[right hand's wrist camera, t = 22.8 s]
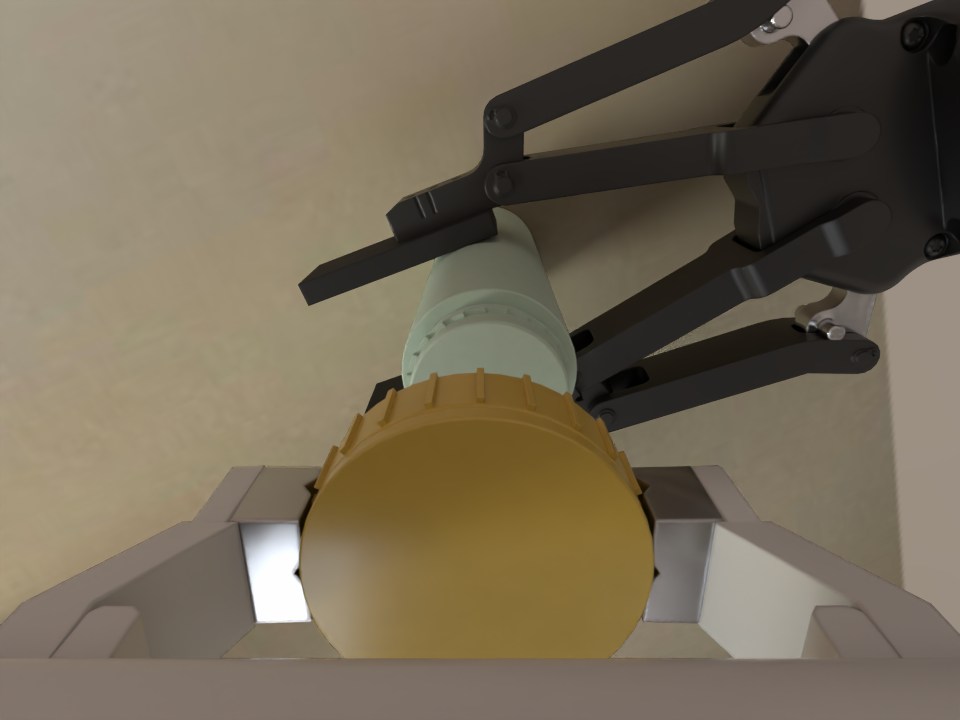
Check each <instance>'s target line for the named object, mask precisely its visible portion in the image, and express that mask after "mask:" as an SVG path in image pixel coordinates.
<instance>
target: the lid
mask: <svg viewBox="0 0 960 720" xmlns="http://www.w3.org/2000/svg"><path fill="white" fill-rule="evenodd" d="M314 488H316V489H318V490H319V491H318V493H317V494H316V495H314V497H313V499H312V507H311V509H310V511H309V513H308V516H307V518H306V521H305V525H304V528H303V532H302V535H301V541H300V549H299V575H300V580H301V585H302V590H303V595H304V598H305V600H306V603H307V606H308V608H309V611H310V613H311V615H312V617H313V619H314V621H315V622H316V624H317V626H318V628H319V630H320V631H321V632H322V634H323V635H324V636H325V638H326V639H327V640H328V642H329V643H330V644H331V645H332V646H333V647H334V649H335V650H336V651H337V652H338V653H339V654H340V655H341V656H342V657H343V658H610V657H611V656H612V655H613V654H614V653H615V652H616V651H617V650H618V649H619V648H620V647H621V646H622V645H623V644H624V642H625V641H626V640H627V638H628V637H629V636H630V634H631V633H632V632H633V630H634V629H635V627H636V625H637V623H638V622H639V620H640V618H641V616H642V614H643V612H644V609H645V607H646V604H647V601H648V599H649V596H650V591H651V587H652V582H653V577H654V560H655V556H654V547H653V539H652V535H651V531H650V528H649V524H648V521H647V518H646V515H645V513H644V511H643V508H642V503H641V502H640V501H639V499H638V497H637V495H639V494H642V491H641V489H640V487H639V484H638V482H637V480H636V477H635V475H634V473H633V471H632V468H631V466H630V464H629V462H628V459H627V457H626V455H625V453H624V451H621V452H619V453H618V451H617V449H616V447H615V445H614V444H613V442H612V439H611V437H610V435H609V432H608V430H607V428H606V425H605V423H604V421H603V420H602V419H601V418H599V419H598V420H595V419H594V418H593V417H592V416H591V415H589V414H588V413H587V412H586V411H585V410H583V409H582V408H581V407H580V406H579V405H578V404H576V403H574V400H573V397H572V395H571V394H570V393H568V392H567V391H566V392H565V393H564V394H563V395H562V394H560V393H558V392H556V391H554V390H552V389H550V388H547V387H545V386H543V385H541V384H538V383H535V382H531V377H530V375H526V374H523V377H522V378H518V377H512V376H507V375H502V374H491V373H484V368H477V373H463V374H452V375H447V376H441V377H438V374H437V372H435V373H431V374H430V378H429V380H425V381H422V382H419V383H416V384H413V385H411V386H409V387H406V388H404V389H402V390H400V391H398V392H396V390H395V389H394V388H392V389H390V390H389V391H388V392H387V395H386V398H385V399H384V400H382V401H381V402H379V403H378V404H376V405H375V406H374V407H373V408H372V409H370V410H369V411H368V412H367V413H366V414H364V415H363V416H361V415H360V414H359V413H358V414H357V415H356V416H355V417H354V418H353V421H352V423H351V425H350V428H349V430H348V432H347V435H346V436H345V438H344V439H343V441H342V442H341V444H340V445H339V447H336V446H334V445H333V447H332V449H331V451H330V453H329V455H328V457H327V459H326V461H325V464H324V466H323V468H322V470H321V472H320V474H319V477H318V479H317V481H316V483H315V485H314Z"/></svg>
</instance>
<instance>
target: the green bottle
mask: <svg viewBox="0 0 960 720" xmlns="http://www.w3.org/2000/svg"><path fill="white" fill-rule="evenodd" d="M493 212H494V215H495V218H496V220H497V230H498V235H496V236H493V237H490V238H488V239H485V240H482V241H480V242H477V243H475V244H472V245H469V246H466V247H464V248H461V249H459V250H456V251H453V252H451V253H448V254H445V255H443V256H440V257H437V258H435V261H434V264H433V267H432V270H431V273H430V275H429V278H428V281H427V284H426V287H425V290H424V293H423V296H422V299H421V301H420V304H419V307H418V310H417V313H416V316H415V319H414V322H413V325H412V328H411V330H410V333H409V336H408V339H407V342H406V345H405V349H404V353H403V358H402V380H403V386H404V388H406V387H409V386H411V385H413V384H416V383H419V382H422V381H425V380H429V378H430V374H431V373H435V372H437V374H438V377H441V376H447V375H452V374H463V373H477V368H484V373H491V374H502V375H507V376H512V377H518V378H522V377H523V374H526V375H530V377H531V382H535V383H538V384H541V385H543V386H545V387H547V388H550V389H552V390H554V391H556V392H558V393H560V394H562V395H563V394H564V393H565V392H566V391H567V392H568V393H570V394H571V395H572V394H573V391H574V387H575V383H576V376H577V361H576V355H575V350H574V346H573V344H572V341H571V338H570V335H569V333H568V330H567V328H566V325H565V322H564V320H563V317H562V314H561V312H560V309H559V306H558V304H557V301H556V298H555V296H554V293H553V290H552V288H551V285H550V282H549V280H548V277H547V275H546V272H545V269H544V267H543V264H542V261H541V259H540V256H539V253H538V251H537V248H536V245H535V243H534V240H533V237H532V235H531V233H530V231H529V229H528V227H527V226H526V225H525V223H524V222H523V221H522V220H521V219H520V218H519V217H518V216H516V215H515V214H513V213H512V212H510V211H508V210H506V209H503V208H500V207H496V208H493Z"/></svg>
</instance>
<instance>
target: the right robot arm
mask: <svg viewBox="0 0 960 720" xmlns="http://www.w3.org/2000/svg"><path fill="white" fill-rule="evenodd" d="M322 468H323V467H295V466H267V467H266V466H264V465H262V466H236V467H232V468H231V469H230V471H229V472H228V473H227V475H226V476H225V477H224V479H223V480H222V482H221V483H220V484H219V486H218V487H217V488H216V490H215V491H214V492H213V494H212V495H211V497H210V498H209V499H208V501H207V502H206V503H205V505H204V506H203V507H202V509H201V510H200V511H199V513H198V514H197V516H196V517H195V518H194V520H193V521H192V522H181V523H179V524H177V525H175V526H173V527H171V528H169V529H167V530H165V531H163V532H161V533H159V534H157V535H155V536H153V537H151V538H149V539H147V540H145V541H143V542H141V543H139V544H137V545H135V546H133V547H131V548H129V549H127V550H125V551H124V552H122V553H120V554H118V555H116V556H114V557H112V558H110V559H108V560H106V561H104V562H102V563H100V564H98V565H96V566H94V567H92V568H90V569H88V570H86V571H84V572H82V573H80V574H78V575H76V576H74V577H72V578H70V579H68V580H66V581H64V582H62V583H60V584H58V585H56V586H54V587H52V588H50V589H48V590H47V591H45V592H43V593H41V594H39V595H37V596H35V597H33V598H31V599H29V600H27V601H25V602H23V603H22V604H21V605H20V606H19V607H18V608H17V609H16V610H15V611H14V612H13V613H12V614H11V615H10V616H9V617H8V618H7V619H6V620H5V621H4V622H3V623H2V624H1V625H0V720H960V634H959V633H958V632H957V631H956V630H955V629H954V628H953V626H952V625H951V624H950V623H949V622H948V621H947V620H946V619H945V618H944V617H943V616H942V615H941V614H940V613H939V612H938V611H937V609H936V608H935V607H934V606H933V605H932V604H931V603H929V602H927V601H925V600H923V599H921V598H919V597H917V596H915V595H913V594H911V593H909V592H907V591H905V590H903V589H901V588H899V587H897V586H896V585H894V584H892V583H890V582H888V581H886V580H884V579H882V578H880V577H878V576H876V575H874V574H872V573H870V572H868V571H866V570H864V569H862V568H860V567H859V566H857V565H855V564H853V563H851V562H849V561H847V560H845V559H843V558H841V557H839V556H837V555H835V554H833V553H831V552H829V551H827V550H825V549H823V548H821V547H820V546H818V545H816V544H814V543H812V542H810V541H808V540H806V539H804V538H802V537H800V536H798V535H796V534H794V533H792V532H790V531H788V530H786V529H784V528H783V527H781V526H779V525H777V524H775V523H773V522H761V520H760V519H759V517H758V516H757V515H756V513H755V512H754V511H753V509H752V508H751V506H750V505H749V504H748V502H747V501H746V500H745V498H744V497H743V495H742V494H741V493H740V491H739V490H738V489H737V487H736V486H735V484H734V483H733V482H732V480H731V479H730V477H729V476H728V475H727V473H726V472H725V471H724V469H723V468H722V467H720V466H718V465H711V466H678V467H637V468H632V471H633V473H634V475H635V477H636V480H637V482H638V484H639V487H640V489H641V491H642V494H639V495H637V497H638V499H639V501H640V502H641V503H642V508H643V511H644V513H645V515H646V518H647V521H648V524H649V528H650V531H651V535H652V539H653V547H654V556H655V560H654V577H653V582H652V587H651V591H650V596H649V599H648V601H647V604H646V607H645V609H644V612H643V614H642V616H641V617H642V620H643V622H669V623H699V626H700V627H701V628H702V629H703V630H704V631H705V632H706V633H707V634H708V635H709V636H711V637H712V638H713V639H714V640H715V641H716V642H717V643H718V644H719V645H720V646H721V647H723V648H724V649H725V650H726V651H727V652H728V653H729V654H730V655H731V656H732V657H733V658H220V657H222V656H223V655H224V654H225V653H226V652H227V651H228V650H229V649H230V648H232V647H233V646H234V645H235V644H236V643H237V642H238V641H239V640H240V639H241V638H243V637H244V636H245V635H246V634H247V633H248V632H249V631H250V630H251V629H252V628H254V627H255V624H254V623H284V622H311V620H312V618H313V617H312V615H311V613H310V611H309V608H308V606H307V603H306V600H305V598H304V595H303V590H302V585H301V580H300V575H299V549H300V541H301V535H302V532H303V528H304V525H305V521H306V518H307V516H308V513H309V511H310V509H311V507H312V499H313V497H314V495H316V494H317V493H318V491H319V490H318V489H316V488H314V485H315V483H316V481H317V479H318V477H319V474H320V472H321V470H322Z"/></svg>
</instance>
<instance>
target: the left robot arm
mask: <svg viewBox="0 0 960 720" xmlns="http://www.w3.org/2000/svg"><path fill="white" fill-rule="evenodd" d="M739 39H741V41H742V42H743V43H744V44H746V45H748V46H749V47H760V46H764V45H768V44H772V43H775V42H777V41H779V40H786V41H788V42H790V43H791V44H792V45H793V47H794V48H793V49H792V50H791V52H790V53H789V54H788V55H787V57H786V58H785V59H784V61H783V62H782V63H781V65H780V66H779V67H778V69H777V70H776V71H775V73H774V74H773V75H772V76H771V78H770V79H769V80H768V82H767V83H766V84H765V86H764V87H763V88H762V90H761V91H760V92H759V94H758V95H757V96H756V98H755V99H754V100H753V101H752V103H751V104H750V105H749V107H748V108H747V109H746V111H745V112H744V113H743V115H742V116H741V117H740V118H739V120H738V121H737V122H730V123H724V124H717V125H711V126H704V127H698V128H692V129H688V130H685V131H679V132H672V133H666V134H659V135H653V136H646V137H640V138H633V139H627V140H620V141H614V142H607V143H600V144H594V145H587V146H581V147H574V148H568V149H561V150H555V151H548V152H542V153H535V154H529V155H523V151H524V132H525V131H528V130H530V129H532V128H535V127H537V126H540V125H542V124H544V123H547V122H549V121H551V120H554V119H556V118H558V117H561V116H563V115H565V114H568V113H570V112H572V111H575V110H577V109H579V108H582V107H584V106H586V105H589V104H591V103H593V102H596V101H598V100H600V99H603V98H605V97H607V96H610V95H612V94H614V93H617V92H619V91H621V90H624V89H626V88H628V87H631V86H633V85H635V84H638V83H640V82H643V81H645V80H647V79H650V78H652V77H654V76H657V75H659V74H661V73H664V72H666V71H668V70H671V69H673V68H675V67H678V66H680V65H682V64H685V63H687V62H689V61H692V60H694V59H696V58H699V57H701V56H703V55H706V54H708V53H710V52H713V51H715V50H717V49H720V48H722V47H724V46H727V45H729V44H731V43H733V42H735V41H737V40H739ZM483 119H484V152H483V156H482V159H481V161H480V162H479V164H478V165H477V166H476V167H475V168H474V169H473V170H471V171H469V172H467V173H464V174H462V175H459V176H457V177H454V178H452V179H449V180H446V181H444V182H441V183H439V184H436V185H434V186H431V187H429V188H426V189H424V190H421V191H419V192H416V193H414V194H411V195H408V196H406V197H403V198H402V199H401V200H400V201H399V202H398V203H397V204H396V205H395V206H394V207H393V208H392V209H391V210H390V211H389V212H388V213H387V214H386V217H387V219H388V222H389V224H390V226H391V229H392V231H393V233H394V237H391V238H388V239H386V240H383V241H381V242H378V243H376V244H373V245H370V246H368V247H365V248H363V249H360V250H357V251H355V252H352V253H350V254H347V255H344V256H342V257H339V258H337V259H334V260H331V261H329V262H326V263H324V264H321V265H319V266H318V267H317V268H316V269H315V270H314V271H312V272H311V273H310V274H309V275H308V276H307V277H306V278H305V279H304V280H303V281H302V282H300V283H299V284H298V286H299V288H300V290H301V292H302V294H303V296H304V298H305V300H306V302H307V304H308V306H310V305H312V304H315V303H318V302H320V301H323V300H326V299H328V298H331V297H334V296H336V295H339V294H342V293H344V292H347V291H350V290H352V289H355V288H358V287H360V286H363V285H366V284H368V283H371V282H374V281H376V280H379V279H381V278H384V277H387V276H389V275H392V274H395V273H397V272H400V271H403V270H405V269H408V268H411V267H413V266H416V265H419V264H421V263H424V262H427V261H429V260H432V259H435V258H437V257H440V256H443V255H445V254H448V253H451V252H453V251H456V250H459V249H461V248H464V247H466V246H469V245H472V244H475V243H477V242H480V241H482V240H485V239H488V238H490V237H493V236H496V235H498V230H497V220H496V218H495V215H494V212H493V208H496V207H498V206H501V205H513V204H519V203H526V202H533V201H540V200H546V199H553V198H560V197H567V196H573V195H580V194H587V193H593V192H600V191H607V190H614V189H620V188H627V187H634V186H641V185H647V184H654V183H661V182H668V181H674V180H681V179H688V178H695V177H701V176H709V175H723V176H724V179H725V181H726V183H727V185H728V187H729V188H730V190H731V192H732V194H733V196H734V198H735V214H734V226H735V230H734V231H732V232H731V233H729V234H727V235H725V236H724V237H722V238H720V239H719V240H717V241H716V242H714V243H713V244H712V245H711V246H710V247H709V249H708V251H707V252H706V253H704V254H703V255H701V256H700V257H698V258H696V259H695V260H693V261H691V262H690V263H688V264H686V265H684V266H683V267H681V268H679V269H678V270H676V271H674V272H673V273H671V274H669V275H668V276H666V277H664V278H662V279H661V280H659V281H657V282H656V283H654V284H652V285H651V286H649V287H647V288H646V289H644V290H642V291H641V292H639V293H637V294H635V295H634V296H632V297H630V298H629V299H627V300H625V301H624V302H622V303H620V304H619V305H617V306H615V307H613V308H612V309H610V310H608V311H607V312H605V313H603V314H602V315H600V316H598V317H597V318H595V319H593V320H591V321H590V322H588V323H586V324H585V325H583V326H581V327H580V328H578V329H576V330H575V331H573V332H571V333H570V334H569V335H570V338H571V341H572V344H573V346H574V350H575V355H576V361H577V376H576V383H575V387H574V391H573V394H572V397H573V400H574V403H576V404H578V405H579V406H580V407H581V408H582V409H583V410H585V411H586V412H587V413H588V414H589V415H591V416H592V417H593V418H594V419H595V420H598V419H599V418H601V419H602V420H603V421H604V423H605V425H606V428H607V430H608V432H612V431H615V430H619V429H622V428H625V427H629V426H632V425H636V424H639V423H642V422H646V421H649V420H652V419H656V418H659V417H662V416H666V415H669V414H672V413H676V412H679V411H682V410H686V409H689V408H693V407H696V406H699V405H703V404H706V403H709V402H713V401H716V400H719V399H723V398H726V397H729V396H733V395H736V394H740V393H743V392H746V391H750V390H753V389H756V388H760V387H763V386H766V385H770V384H773V383H776V382H780V381H783V380H786V379H790V378H793V377H797V376H800V375H803V374H807V373H833V374H859V373H865V372H867V371H869V370H871V369H872V368H873V367H874V366H875V365H876V364H877V362H878V360H879V358H880V350H879V348H878V345H876V344H875V343H874V342H872V341H871V340H869V339H867V338H866V333H867V330H868V326H869V322H870V318H871V314H872V310H873V307H874V303H875V299H876V295H877V293H881V292H883V291H886V290H888V289H890V288H892V287H893V286H895V285H896V284H898V283H899V282H900V281H901V280H902V279H903V278H904V277H905V276H906V275H908V274H909V273H910V272H911V271H913V270H914V269H916V268H917V267H919V266H920V265H922V264H924V263H926V262H929V261H932V260H935V259H939V258H944V257H948V256H952V255H957V254H960V0H933V1H930V2H928V3H925V4H923V5H920V6H917V7H915V8H912V9H910V10H907V11H905V12H902V13H899V14H897V15H894V16H892V17H889V18H886V19H884V20H872V19H866V18H862V17H849V18H844V19H839V18H838V16H837V14H836V13H835V11H834V9H833V8H832V6H831V4H830V3H829V1H828V0H710V1H709V2H708V3H707V4H705V5H703V6H700V7H698V8H696V9H693V10H691V11H689V12H687V13H684V14H682V15H680V16H678V17H675V18H673V19H671V20H668V21H666V22H664V23H662V24H659V25H657V26H655V27H652V28H650V29H648V30H646V31H643V32H641V33H639V34H637V35H634V36H632V37H630V38H627V39H625V40H623V41H621V42H618V43H616V44H614V45H612V46H609V47H607V48H605V49H602V50H600V51H598V52H596V53H593V54H591V55H589V56H587V57H584V58H582V59H580V60H577V61H575V62H573V63H571V64H568V65H566V66H564V67H561V68H559V69H557V70H555V71H552V72H550V73H548V74H546V75H543V76H541V77H539V78H536V79H534V80H532V81H530V82H527V83H525V84H523V85H521V86H518V87H516V88H514V89H511V90H509V91H507V92H505V93H502V94H500V95H498V96H496V97H494V98H493V99H492V100H490V101H489V103H488V104H487V105H486V108H485V110H484V116H483ZM799 278H804V279H807V280H811V281H814V282H818V283H822V284H825V285H829V286H832V287H833V288H832V290H831V292H830V293H829V295H827V296H826V297H825V298H824V299H822V300H820V301H817V302H813V303H809V304H807V305H801V306H799V307H798V308H797V309H796V310H795V317H794V318H780V319H773V320H768V321H764V322H760V323H757V324H753V325H750V326H747V327H744V328H741V329H737V330H734V331H731V332H728V333H725V334H721V335H718V336H715V337H712V338H709V339H705V340H702V341H699V342H696V343H693V344H689V345H686V346H683V347H680V348H676V349H673V350H670V351H667V352H664V353H660V354H657V355H654V356H651V357H648V358H645V357H646V356H648V355H650V354H652V353H653V352H655V351H657V350H659V349H660V348H662V347H664V346H666V345H668V344H669V343H671V342H673V341H675V340H676V339H678V338H680V337H682V336H683V335H685V334H687V333H689V332H691V331H692V330H694V329H696V328H698V327H699V326H701V325H703V324H705V323H706V322H708V321H710V320H712V319H714V318H715V317H717V316H719V315H721V314H722V313H724V312H726V311H728V310H729V309H731V308H733V307H735V306H737V305H738V304H740V303H742V302H744V301H746V300H749V299H756V298H762V297H766V296H768V295H770V294H772V293H774V292H776V291H777V290H779V289H781V288H783V287H785V286H786V285H788V284H790V283H792V282H793V281H795V280H797V279H799ZM643 358H644V359H643ZM392 388H394V389H395V390H396V392H398V391H400V390H402V389H404V386H403V380H402V375H400V376H397V377H395V378H392V379H389V380H386V381H383V382H380V383H377V384H376V386H375V389H374V391H373V394H372V396H371V399H370V401H369V404H368V406H367V409H366V411H365V414H366V413H367V412H368V411H369V410H370V409H372V408H373V407H374V406H375V405H376V404H378V403H379V402H381V401H382V400H384V399H385V398H386V395H387V392H388V391H389V390H390V389H392Z"/></svg>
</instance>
